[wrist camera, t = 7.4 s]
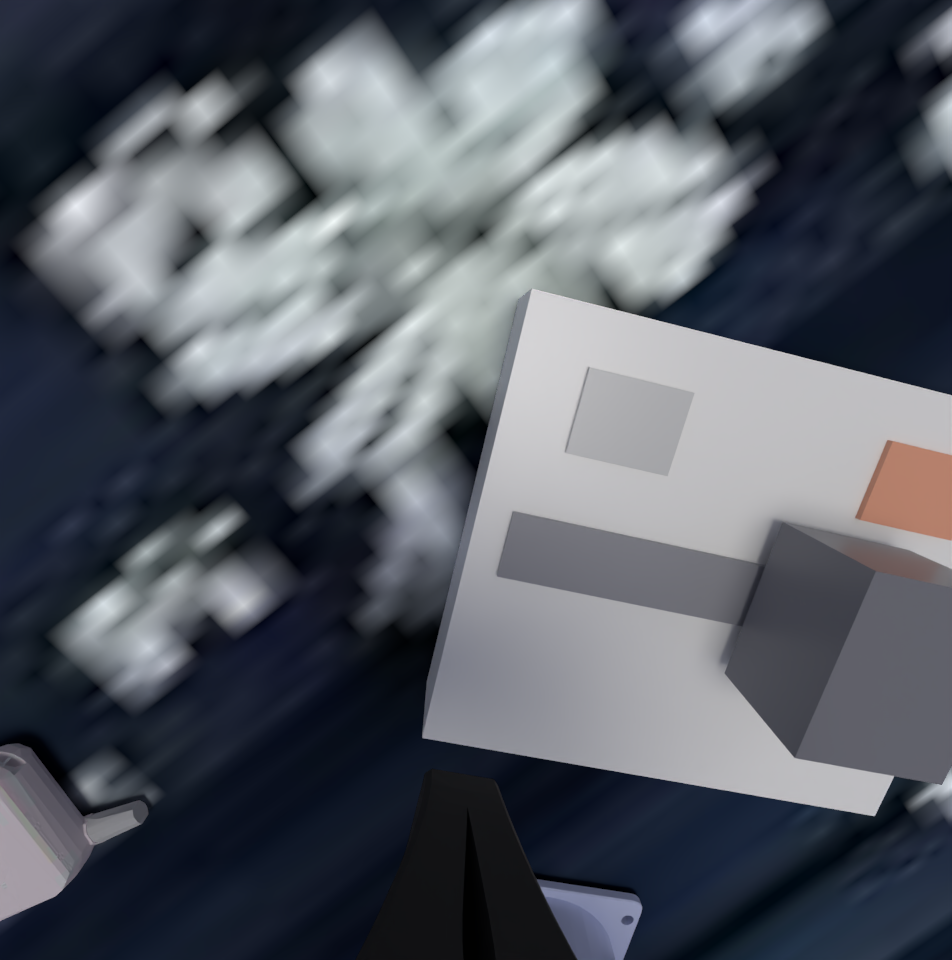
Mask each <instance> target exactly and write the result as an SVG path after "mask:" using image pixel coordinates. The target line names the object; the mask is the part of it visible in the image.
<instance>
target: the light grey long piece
mask: <svg viewBox="0 0 952 960" xmlns="http://www.w3.org/2000/svg"><path fill="white" fill-rule="evenodd" d="M147 816H148V808H147V806H146V804H145V803H144V802H142V801H140V800H138V801H135V802H131V803H128V804H125V805H122V806H118V807H115V808H112V809H108V810H105V811H102V812H98V813H95V814H93V813H91V814H89V815H86V816H82V815H81V813H80V812H79V811H78V809H77V808H76V807H75V806H74V804H73V803H72V802H71V800H70V799H69V798H68V796H67V795H66V794H65V792H64V791H63V790H62V788H61V787H60V786H59V784H58V783H57V782H56V781H55V779H54V778H53V777H52V775H51V774H50V773H49V771H48V770H47V769H46V767H45V766H44V765H43V763H42V762H41V761H40V760H39V758H38V757H37V756H36V754H35V753H34V752H33V750H32V749H31V748H29V747H27V746H24V745H21V744H19V743H17V744H7V745H4V746H1V747H0V921H1V920H3V919H5V918H8V917H10V916H12V915H14V914H17V913H19V912H21V911H23V910H26V909H28V908H30V907H32V906H34V905H37V904H39V903H41V902H43V901H46V900H48V899H50V898H52V897H55V896H56V895H57V894H58V893H60V892H61V891H62V890H63V889H64V888H65V887H66V886H67V885H68V884H69V883H70V882H71V881H72V879H73V878H74V877H75V876H76V875H77V874H78V873H79V871H80V869H81V868H82V866H83V865H84V863H85V862H86V860H87V859H88V857H89V856H90V854H91V852H92V849H93V847H94V845H96V844H99V843H102V842H104V841H105V840H107V839H110V838H112V837H114V836H116V835H118V834H121V833H123V832H125V831H127V830H129V829H131V828H134V827H136V826H138V825H140V824H142V823H143V822H144V820H145V819H146V817H147Z"/></svg>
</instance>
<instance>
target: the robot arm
mask: <svg viewBox="0 0 952 960" xmlns="http://www.w3.org/2000/svg"><path fill="white" fill-rule="evenodd" d="M641 912H642V906H641V903H640V900H639V897H637V896H636V895H634V894H631V893H625V892H619V891H612V890H606V889H599V888H592V887H586V886H579V885H573V884H566V883H559V882H553V881H546V880H540V879H536V877H535V875H534V873H533V871H532V868H531V866H530V864H529V862H528V860H527V857H526V855H525V853H524V851H523V848H522V846H521V844H520V841H519V839H518V836H517V834H516V832H515V829H514V827H513V824H512V822H511V819H510V817H509V814H508V812H507V809H506V807H505V804H504V801H503V799H502V796H501V793H500V790H499V787H498V785H497V783H496V782H495V780H494V779H489V778H483V777H477V776H471V775H465V774H459V773H453V772H448V771H442V770H436V769H431V770H429V771H428V772H426V773H425V775H424V779H423V783H422V787H421V791H420V795H419V799H418V803H417V807H416V811H415V815H414V819H413V823H412V827H411V832H410V836H409V840H408V844H407V848H406V851H405V854H404V856H403V859H402V862H401V864H400V867H399V869H398V872H397V874H396V876H395V879H394V881H393V883H392V885H391V887H390V890H389V892H388V894H387V896H386V899H385V901H384V903H383V905H382V907H381V910H380V912H379V914H378V916H377V918H376V920H375V922H374V924H373V927H372V929H371V931H370V933H369V935H368V937H367V939H366V941H365V943H364V945H363V947H362V948H361V950H360V952H359V954H358V956H357V958H356V960H623V959H624V956H625V954H626V951H627V948H628V946H629V943H630V941H631V938H632V936H633V933H634V930H635V928H636V925H637V923H638V920H639V918H640V915H641Z"/></svg>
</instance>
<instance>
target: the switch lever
mask: <svg viewBox="0 0 952 960" xmlns="http://www.w3.org/2000/svg"><path fill="white" fill-rule="evenodd" d="M725 675H726V676H727V677H728V678H729V680H730V681H731V682H732V683H733V684H734V686H735V687H736V688H737V689H738V690H739V692H740V693H741V694H742V695H743V696H744V698H745V699H746V700H747V701H748V702H749V704H750V705H751V706H752V707H753V708H754V710H755V711H756V712H757V713H758V715H759V716H760V717H761V718H762V719H763V721H764V722H765V723H766V724H767V725H768V727H769V728H770V729H771V730H772V731H773V733H774V734H775V735H776V736H777V737H778V739H779V740H780V741H781V742H782V743H783V745H784V746H785V747H786V748H787V750H788V751H789V752H790V753H791V754H792V756H793V757H794V758H797V759H802V760H808V761H813V762H819V763H824V764H830V765H835V766H841V767H846V768H852V769H857V770H863V771H868V772H874V773H880V774H885V775H891V776H896V777H902V778H907V779H913V780H918V781H924V782H929V783H935V784H940V785H942V783H943V781H944V780H945V778H946V776H947V774H948V772H949V770H950V768H951V766H952V569H950V568H948V567H946V566H944V565H941V564H939V563H937V562H935V561H932V560H930V559H928V558H926V557H923V556H921V555H919V554H917V553H914V552H912V551H910V550H907V549H902V548H898V547H893V546H889V545H884V544H880V543H875V542H871V541H866V540H862V539H858V538H853V537H849V536H844V535H840V534H835V533H831V532H826V531H822V530H817V529H813V528H808V527H804V526H799V525H795V524H790V523H786V522H782V524H781V527H780V530H779V532H778V535H777V537H776V540H775V543H774V545H773V548H772V550H771V553H770V556H769V558H768V561H767V564H766V566H765V569H764V571H763V574H762V577H761V579H760V582H759V584H758V587H757V590H756V592H755V595H754V597H753V600H752V603H751V605H750V608H749V611H748V613H747V616H746V618H745V621H744V624H743V626H742V629H741V631H740V634H739V637H738V639H737V642H736V644H735V647H734V650H733V652H732V655H731V657H730V660H729V663H728V665H727V668H726V671H725Z"/></svg>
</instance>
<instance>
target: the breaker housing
mask: <svg viewBox="0 0 952 960" xmlns="http://www.w3.org/2000/svg"><path fill="white" fill-rule="evenodd" d="M782 522H786V523H790V524H795V525H799V526H804V527H808V528H813V529H817V530H822V531H826V532H831V533H835V534H840V535H844V536H849V537H853V538H858V539H862V540H866V541H871V542H875V543H880V544H884V545H889V546H893V547H898V548H902V549H907V550H910V551H912V552H914V553H917V554H919V555H921V556H923V557H926V558H928V559H930V560H932V561H935V562H937V563H939V564H941V565H944V566H946V567H948V568H950V569H952V395H948V394H944V393H940V392H936V391H932V390H929V389H925V388H921V387H917V386H913V385H909V384H905V383H901V382H897V381H893V380H889V379H885V378H881V377H877V376H874V375H870V374H866V373H862V372H858V371H854V370H850V369H846V368H842V367H838V366H834V365H830V364H826V363H822V362H819V361H815V360H811V359H807V358H803V357H799V356H795V355H791V354H787V353H783V352H779V351H775V350H771V349H767V348H764V347H760V346H756V345H752V344H748V343H744V342H740V341H736V340H732V339H728V338H724V337H720V336H716V335H712V334H709V333H705V332H701V331H697V330H693V329H689V328H685V327H681V326H677V325H673V324H669V323H665V322H661V321H657V320H654V319H650V318H646V317H642V316H638V315H634V314H630V313H626V312H622V311H618V310H614V309H610V308H606V307H602V306H599V305H595V304H591V303H587V302H583V301H579V300H575V299H571V298H567V297H563V296H559V295H555V294H551V293H547V292H544V291H540V290H536V289H531V290H530V291H528V292H527V293H526V294H524V295H523V296H522V297H521V298H519V300H518V304H517V308H516V313H515V317H514V321H513V325H512V329H511V333H510V338H509V342H508V346H507V350H506V354H505V358H504V362H503V367H502V371H501V375H500V379H499V383H498V387H497V392H496V396H495V400H494V404H493V408H492V412H491V417H490V421H489V425H488V429H487V433H486V437H485V441H484V446H483V450H482V454H481V458H480V462H479V466H478V471H477V475H476V479H475V483H474V487H473V491H472V496H471V500H470V504H469V508H468V512H467V516H466V520H465V525H464V529H463V533H462V537H461V541H460V545H459V550H458V554H457V558H456V562H455V566H454V570H453V575H452V579H451V583H450V587H449V591H448V595H447V599H446V604H445V608H444V612H443V616H442V620H441V624H440V629H439V633H438V637H437V641H436V645H435V649H434V654H433V658H432V662H431V666H430V670H429V674H428V678H427V685H426V697H425V708H424V720H423V732H422V738H425V739H431V740H437V741H443V742H449V743H454V744H460V745H466V746H472V747H478V748H483V749H489V750H495V751H501V752H506V753H512V754H518V755H524V756H530V757H535V758H541V759H547V760H553V761H559V762H564V763H570V764H576V765H582V766H588V767H593V768H599V769H605V770H611V771H616V772H622V773H628V774H634V775H640V776H645V777H651V778H657V779H663V780H669V781H674V782H680V783H686V784H692V785H698V786H703V787H709V788H715V789H721V790H726V791H732V792H738V793H744V794H750V795H755V796H761V797H767V798H773V799H779V800H784V801H790V802H796V803H802V804H808V805H813V806H819V807H825V808H831V809H836V810H842V811H848V812H854V813H860V814H865V815H871V816H875V814H876V812H877V810H878V808H879V806H880V804H881V802H882V800H883V798H884V796H885V794H886V792H887V790H888V788H889V786H890V784H891V782H892V780H893V778H894V776H891V775H885V774H880V773H874V772H868V771H863V770H857V769H852V768H846V767H841V766H835V765H830V764H824V763H819V762H813V761H808V760H802V759H797V758H794V757H793V756H792V754H791V753H790V752H789V751H788V750H787V748H786V747H785V746H784V745H783V743H782V742H781V741H780V740H779V739H778V737H777V736H776V735H775V734H774V733H773V731H772V730H771V729H770V728H769V727H768V725H767V724H766V723H765V722H764V721H763V719H762V718H761V717H760V716H759V715H758V713H757V712H756V711H755V710H754V708H753V707H752V706H751V705H750V704H749V702H748V701H747V700H746V699H745V698H744V696H743V695H742V694H741V693H740V692H739V690H738V689H737V688H736V687H735V686H734V684H733V683H732V682H731V681H730V680H729V678H728V677H727V676H726V675H725V671H726V668H727V665H728V663H729V660H730V657H731V655H732V652H733V650H734V647H735V644H736V642H737V639H738V637H739V634H740V631H741V629H742V626H743V624H744V621H745V618H746V616H747V613H748V611H749V608H750V605H751V603H752V600H753V597H754V595H755V592H756V590H757V587H758V584H759V582H760V579H761V577H762V574H763V571H764V569H765V566H766V564H767V561H768V558H769V556H770V553H771V550H772V548H773V545H774V543H775V540H776V537H777V535H778V532H779V530H780V527H781V524H782Z"/></svg>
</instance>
